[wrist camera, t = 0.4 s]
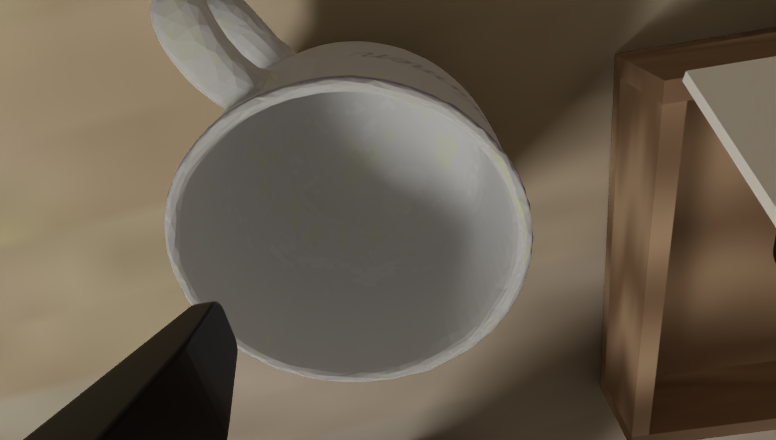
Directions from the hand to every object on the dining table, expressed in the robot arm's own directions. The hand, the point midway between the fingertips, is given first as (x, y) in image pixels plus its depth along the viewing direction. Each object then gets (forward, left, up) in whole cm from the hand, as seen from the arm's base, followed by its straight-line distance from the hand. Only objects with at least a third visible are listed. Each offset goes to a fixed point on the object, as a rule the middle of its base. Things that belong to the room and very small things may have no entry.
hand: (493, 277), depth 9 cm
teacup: (-2, +3, -14) cm, 15 cm away
